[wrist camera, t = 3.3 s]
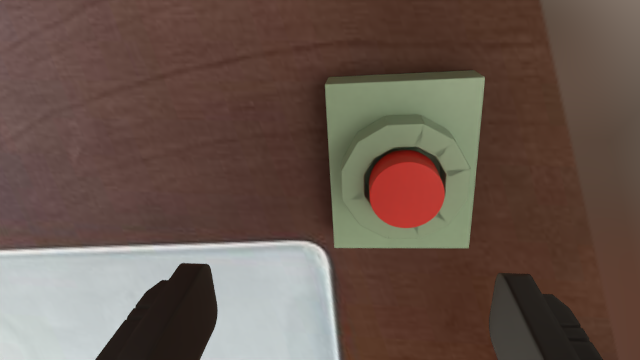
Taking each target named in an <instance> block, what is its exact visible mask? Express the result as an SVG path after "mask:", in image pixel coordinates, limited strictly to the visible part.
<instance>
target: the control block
mask: <svg viewBox="0 0 640 360" xmlns="http://www.w3.org/2000/svg"><path fill="white" fill-rule="evenodd" d="M484 83H485V77H484V76H482V75H481V74H479V73H478V72H476V71H475V70H468V71H447V72H426V73H405V74H384V75H363V76H343V77H328V79H327V81H326V84H325V97H326V114H327V131H328V148H329V165H330V182H331V199H332V216H333V233H334V247H335V248H469V241H470V230H471V220H472V209H473V199H474V188H475V178H476V167H477V157H478V146H479V136H480V125H481V115H482V104H483V94H484ZM399 150H412V151H416V152H419V153H422V154H423V155H425V156H427V157H428V158H429V159H430V160H431V161H432V162H433V163H434V165H435V166H436V168H437V170H438V173H439V175H440V178H441V180H442V182H443V185H444V190H445V197H444V202H443V205H442V207H441V209H440V211H439V212H438V213H437V215H436V216H435V217H434V218H433V219H431V220H430V221H429V222H427V223H425V224H423V225H421V226H418V227H413V228H399V227H394V226H391V225H389V224H387V223H385V222H384V221H382V220H381V219H380V218H379V217H378V216H377V215H376V214H375V212H374V211H373V209H372V207H371V203H370V197H369V178H370V174H371V171H372V169H373V167H374V166H375V164H376V163H377V162H378V161H379V160H380V159H381V158H382V157H384V156H385V155H387V154H389V153H391V152H394V151H399Z"/></svg>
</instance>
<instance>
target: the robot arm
mask: <svg viewBox="0 0 640 360" xmlns="http://www.w3.org/2000/svg"><path fill="white" fill-rule="evenodd" d="M216 320H217V302H216V296H215V290H214V285H213V279H212V273H211V269H210V266H209V265H208V264H190V263H182V264H180V265H179V266H178V268H177V269H176V270H175V272H174V273H173V275H172V276H171V278H170V279H169V280H162V281H160V282H159V283H157V284H156V285H155V286H153V287H152V288H151V289H149V290H148V291H147V292H146V293H145V294H144V295H143V297H142V298H141V299H140V301H139V302H138V303H137V305H136V308H134V309H133V310H132V311H131V313H130V314H129V315H128V317H127V320H125V321H124V322H123V323H122V325H121V326H120V327H119V329H118V330H117V331H116V333H115V334H114V335H113V337H112V338H111V339H110V341H109V342H108V343H107V345H106V346H105V347H104V349H103V350H102V351H101V353H100V354H99V355H98V357H97V358H96V359H95V360H200V358H201V356H202V354H203V352H204V349H205V347H206V345H207V343H208V341H209V339H210V336H211V334H212V332H213V330H214V328H215V324H216ZM489 330H490V337H491V341H492V344H493V347H494V349H495V352H496V355H497V358H498V360H603V359H602V358H601V356H600V354H599V353H598V351H597V350H596V348H595V347H594V345H593V344H592V342H590V341H589V337H588V336H587V334H586V333H585V331H584V330H583V328H581V327H580V324H579V322H578V320H577V319H576V317H575V316H574V314H573V313H572V311H571V310H570V308H568V307H567V306H566V305H565V304H563V303H562V302H561V301H560V300H559V299H557V298H556V297H555V296H554V295H552V294H542V293H541V292H540V290H539V288H538V287H537V285H536V283H535V281H534V280H533V278H532V277H531V275H529V274H512V273H499V274H498V275H497V277H496V281H495V287H494V293H493V299H492V305H491V311H490V317H489Z"/></svg>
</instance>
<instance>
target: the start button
mask: <svg viewBox="0 0 640 360" xmlns="http://www.w3.org/2000/svg"><path fill="white" fill-rule="evenodd" d="M369 197H370V203H371V207H372V209H373V211H374V212H375V214H376V215H377V216H378V217H379V218H380V219H381V220H382V221H384V222H385V223H387V224H389V225H391V226H394V227H399V228H413V227H418V226H421V225H423V224H425V223H427V222H429V221H430V220H431V219H433V218H434V217H435V216H436V215H437V213H438V212H439V211H440V209H441V207H442V205H443V202H444V197H445V190H444V185H443V182H442V180H441V178H440V175H439V173H438V170H437V168H436V166H435V165H434V163H433V162H432V161H431V160H430V159H429V158H428V157H427V156H425V155H423V154H422V153H419V152H416V151H412V150H399V151H394V152H391V153H389V154H387V155H385V156H384V157H382V158H381V159H380V160H379V161H378V162H377V163H376V164H375V166H374V167H373V169H372V171H371V174H370V178H369Z"/></svg>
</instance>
